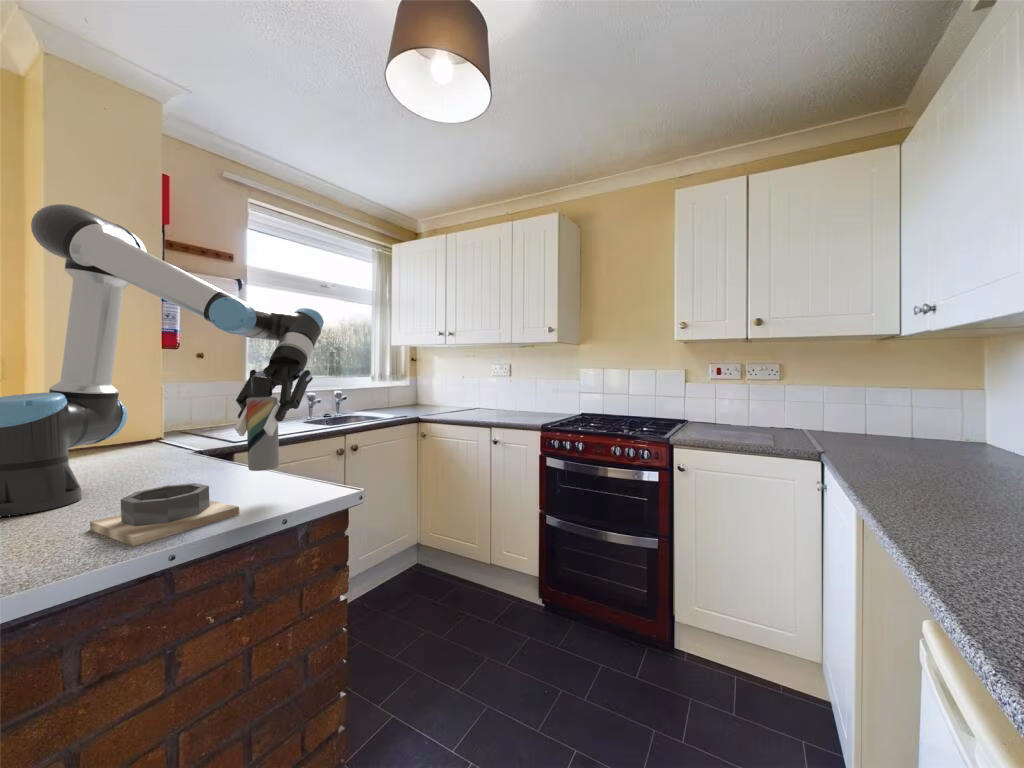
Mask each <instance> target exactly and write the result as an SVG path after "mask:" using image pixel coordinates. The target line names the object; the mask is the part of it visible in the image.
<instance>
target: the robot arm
mask: <svg viewBox="0 0 1024 768" xmlns="http://www.w3.org/2000/svg"><path fill="white" fill-rule="evenodd" d="M30 228H31V233H32V235H33V237H34V239H35V241H36V242H37V243H38V244H39V245H40V246H41V247H42V248H43V249H45V250H46V251H48V252H50V253H51V254H53V255H55V256H57V257H60V258H63V259H65V265H64V272H66V274H68V275H69V276H70V277H71V279H72V286H71V292H70V293H71V294H70V300H69V301H70V303H69V309H68V317H67V326H66V333H65V334H66V335H65V341H64V342H65V343H64V349H63V359H62V365H61V375H60V380H59V381H58V382H57V383H55V384H53V385H51V386H50V387H49V390H48V392H35V393H34V392H33V393H24V394H12V395H4V396H0V516H9V515H16V516H20V515H19V514H23V515H26V513H29V514H32V513H33V512H34V513H38V511H39V512H45V511H48V510H52V509H56V508H60V507H64V506H68V505H71V504H75V503H76V502H78V501H80V500H81V499H82V498H83V497H82V494H83V493H82V491H83V490H82V486H81V485H80V483H79V481H78V479H77V478H76V476H75V474H74V471H72V468H71V467H70V462H69V449H72V448H76V447H81V446H88V445H95V444H98V443H101V442H103V441H106V440H110V439H112V438H113V437H115V436H117V435H118V434H119V433H120V432H121V431H122V430H123V428H124V427H125V426H126V423H127V421H128V420H127V419H128V410H127V408H126V405H123V402H122V401H121V400H120V399H119V394H120V391H119V390H118V388H117V387H115V386H114V385H113V383H112V382H113V375H114V374H113V373H114V367H115V366H114V365H115V359H116V351H117V342H118V334H119V327H120V318H121V311H122V304H123V295H124V289H125V288H127V287H129V286H130V285H133V286H135V287H138V288H139V289H142V290H143V291H145V292H148V293H150V294H151V295H154V296H156V297H158V298H160V299H162V300H164V301H167V302H168V303H170V304H173V305H174V306H177V307H179V308H180V309H182V310H185V311H187V312H189V313H191V314H193V315H195V316H197V317H200V318H201V319H203V320H205V321H208V322H209V323H211V324H213V326H214V327H216V328H217V329H219V330H221V331H223V332H225V333H228V334H231V335H238V336H241V337H246V338H250V339H259V340H268V341H277V342H278V343H277V345H276V346H275V349H274V351H273V352H272V354H271V356H270V357H269V358H270V359H269V362H268V365H267V366H265V367H264V368H263V370H259V371H257V370H256V369H251V370H249V377H248V378H247V380H246V382H245V384H244V386H243V387H242V389H241V391H240V392H239V394H238V396H237V397H236V399H235V402H236V403H237V405H238V406H239V408H240V411H239V412H238V414H237V418H238V420H237V422H236V424H235V426H234V430H235V431H236V432H237V433H236V434H238V436H239V437H245V434H246V433H247V399H248V398H251V397H254V396H252V390H251V378H252V377H253V376H254V375H260V376H267V377H272V391H273V390H274V389H275V388H276V387H278V386H281V387H280V388H281V389H280V395H279V400H278V399H277V401H278V402H279V403H278V404H276V405H275V406H274V408H273V409H272V411H271V413H270V415H269V418H268V420H267V422H266V424H265V426H264V430H265V431H266V433H267V434H268V436H273V433H274V431H275V429H276V427H277V425H278V426H279V422H283V421H284V419H285V417H286V414H287V413H288V411H290V409H294V410H297V409H299V407H300V406H301V403H302V400H303V398H304V395H305V393H306V390H307V388H308V385H309V384H310V383H311V382H312V381H313V379H314V378H313V376H312V373H311V370H309V369H305V368H306V367H307V366H306V365H307V363H308V361H309V359H310V356H311V354H312V352H313V351H314V347H315V345H316V344H317V342H318V339H319V338H320V336H321V334H322V330H323V326H324V318H323V316H322V315H321V313H319V311H317V310H315V309H314V308H312V307H307V306H306V307H300V308H297V310H296V311H294V312H293V313H289V312H280V311H275V310H268V309H266V308H262V307H259V306H256V305H254V304H251V303H249V302H246V301H244V300H242V299H241V298H238V297H237V296H234V295H232V294H231V293H228V292H226V291H224V290H222V289H220V288H218V287H216V286H214V285H213V284H210V282H209V283H208V282H207V281H204V280H203V279H200V278H199V277H196V276H194V275H192V274H191V273H189V272H186V271H185V270H182V269H180V268H179V267H177V266H175V265H173V264H170V263H168V262H167V261H165V260H162V259H161V258H159V257H157V256H155V255H153V254H150V253H149V252H148V251H147V249H146V247H145V245H144V243H143V241H142V240H141V239H140V238H139V237H138V236H137V235H136V234H135V233H133V232H131V231H130V230H128V229H127V228H125V227H123V226H122V225H120V224H116V223H114V222H111V221H109V220H107V219H104V218H103V217H102V216H101V217H100V216H98V215H97V214H94V213H92V212H90V211H88V210H86V209H84V208H81V207H78V206H74V205H70V204H58V203H57V204H52V205H47V206H44V207H42V208H40V209H39V210H37V211H36V213H34V214H33V216H32V218H31V223H30ZM295 381H297V382H296V384H295V385H294V382H295ZM293 385H294V387H293ZM34 513H33V514H34ZM9 517H10V516H9Z"/></svg>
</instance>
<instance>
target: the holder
mask: <svg viewBox="0 0 1024 768" xmlns="http://www.w3.org/2000/svg"><path fill="white" fill-rule="evenodd" d="M238 514H239V515H240V507H239V506H237V505H233V504H229V503H226V502H225V503H224V502H220V501H216V500H211V499H210V486H209V485H206V484H201V483H195V482H194V483H183V484H181V483H179V484H168V485H163V486H157V487H153V488H149V489H144V490H138V491H135V492H132V493H131V494H129V495H127V496H125V497H122V498H121V499H120V514H115V515H111V516H107V517H103V518H99V519H94V520H91V521H89V530H90V531H92V532H94V533H98V534H100V535H102V536H105V537H107V538H111V539H112V540H115V541H118V542H120V543H123V544H125V545H129V546H131V547H136V546H139V545H143V544H146V543H149V542H153V541H155V540H159V539H163V538H165V537H169V536H173V535H175V534H176V535H177V534H180V533H183V532H186V531H189V530H192V529H195V528H199V527H203V526H206V525H209V524H212V523H216V522H219V521H222V520H227V519H229V518H233V517H236V516H239V515H238ZM235 515H236V516H235ZM232 516H233V517H232Z"/></svg>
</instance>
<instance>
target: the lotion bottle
mask: <svg viewBox="0 0 1024 768" xmlns="http://www.w3.org/2000/svg"><path fill="white" fill-rule="evenodd" d="M251 390H252V396H254V397H251V398H248V399H247V431H246V433H247V435H246V436H247V437H246V438H247V439H246V440H247V442H246V443H247V466H248V470H249V471H252V472H253V471H254V472H260V471H261V472H262V471H263V472H264V471H269V470H274V469H277V468H278V467H280V466H279V465H280V453H279V450H280V447H279V445H280V443H279V424H278V425H277V427H276V429H275V431H274V433H273V436H268V434H267V433H266V431H265V430H264V426H265V424H266V422H267V420H268V418H269V415H270V413H271V411H272V409H273V408H274V406H275V405H276V404H279V403H278V402H279V401H278V397H276V396H273V390H272V377H267V376H260V375H254V376H253V377H252V378H251Z"/></svg>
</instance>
